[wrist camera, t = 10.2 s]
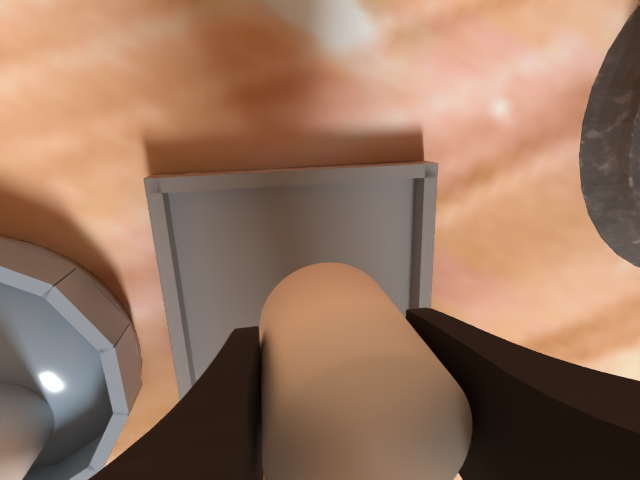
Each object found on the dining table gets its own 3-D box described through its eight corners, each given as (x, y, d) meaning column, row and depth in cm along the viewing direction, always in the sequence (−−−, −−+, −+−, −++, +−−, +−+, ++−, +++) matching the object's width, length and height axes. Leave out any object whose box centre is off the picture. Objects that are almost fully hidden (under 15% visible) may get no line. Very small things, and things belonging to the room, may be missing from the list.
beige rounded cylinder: (388, 372, 12) (464, 511, 8) (265, 389, 12) (270, 550, 7) (389, 256, 11) (481, 340, 7) (254, 268, 11) (253, 369, 6)
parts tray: (413, 425, 22) (423, 444, 21) (197, 459, 20) (193, 482, 19) (424, 160, 18) (438, 163, 17) (152, 174, 16) (143, 178, 15)
